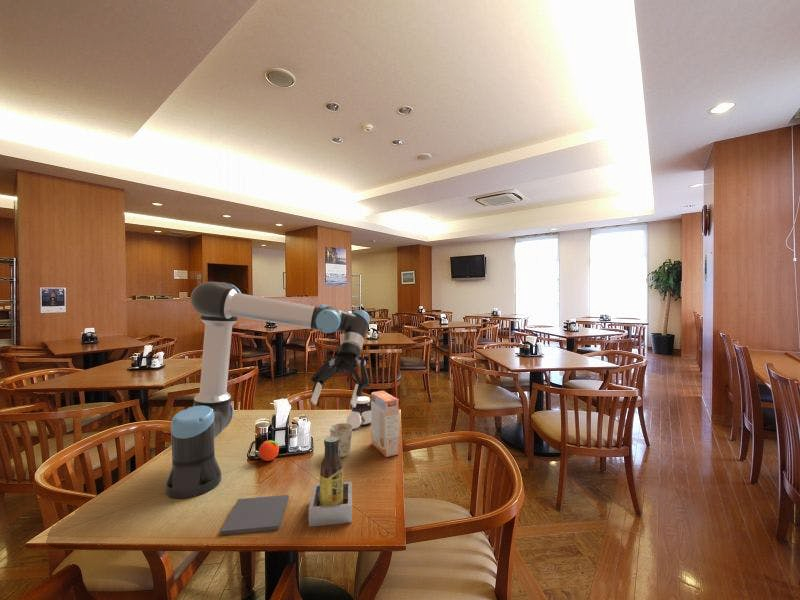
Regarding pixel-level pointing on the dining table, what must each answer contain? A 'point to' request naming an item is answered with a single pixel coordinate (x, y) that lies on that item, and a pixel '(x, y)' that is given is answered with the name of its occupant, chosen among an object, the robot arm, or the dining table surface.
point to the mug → (342, 437)
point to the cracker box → (385, 423)
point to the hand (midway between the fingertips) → (332, 404)
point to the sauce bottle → (331, 474)
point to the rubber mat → (256, 515)
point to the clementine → (268, 450)
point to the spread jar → (360, 413)
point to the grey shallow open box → (330, 508)
